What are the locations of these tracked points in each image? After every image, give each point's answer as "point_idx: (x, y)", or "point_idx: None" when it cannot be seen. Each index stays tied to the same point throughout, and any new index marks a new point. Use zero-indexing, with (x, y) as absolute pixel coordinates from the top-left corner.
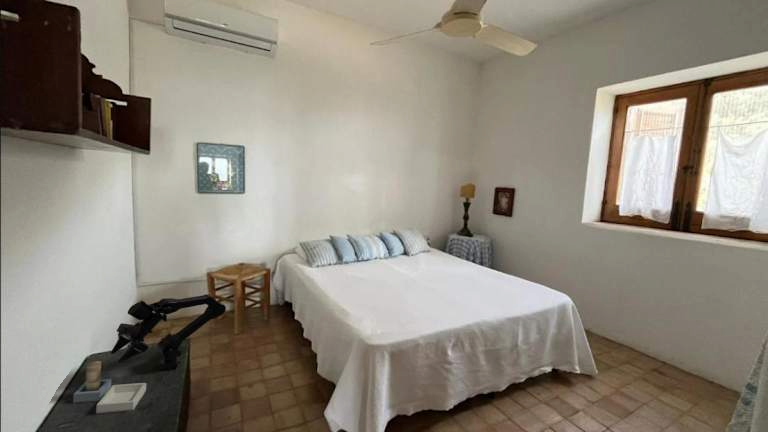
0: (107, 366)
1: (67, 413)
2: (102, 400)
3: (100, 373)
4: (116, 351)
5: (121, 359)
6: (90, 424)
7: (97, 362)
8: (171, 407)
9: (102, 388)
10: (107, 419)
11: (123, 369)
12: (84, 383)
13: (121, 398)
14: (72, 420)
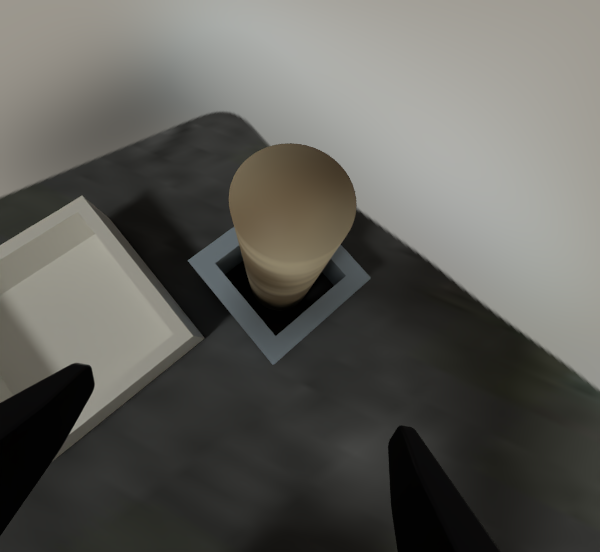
0: (503, 456)
1: (230, 170)
2: (95, 230)
3: (253, 273)
4: (393, 500)
5: (20, 402)
6: (65, 176)
7: (304, 237)
8: None
9: (214, 286)
10: (23, 225)
11: None
12: (349, 259)
13: (97, 331)
14: (163, 158)
